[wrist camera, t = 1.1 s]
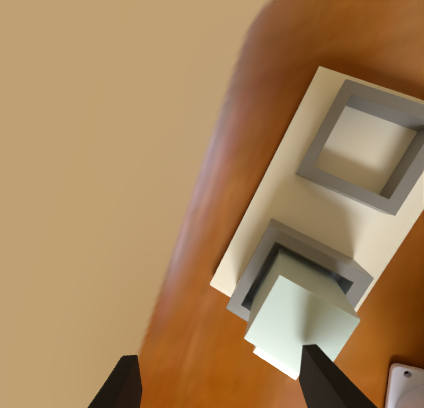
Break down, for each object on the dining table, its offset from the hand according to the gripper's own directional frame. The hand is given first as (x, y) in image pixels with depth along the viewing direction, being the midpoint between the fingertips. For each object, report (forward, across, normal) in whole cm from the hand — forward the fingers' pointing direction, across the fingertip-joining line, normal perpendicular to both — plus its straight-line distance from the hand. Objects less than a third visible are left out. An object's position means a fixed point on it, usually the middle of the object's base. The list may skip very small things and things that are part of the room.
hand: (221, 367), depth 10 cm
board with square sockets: (+10, -9, -3) cm, 14 cm away
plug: (+7, -6, +1) cm, 9 cm away
